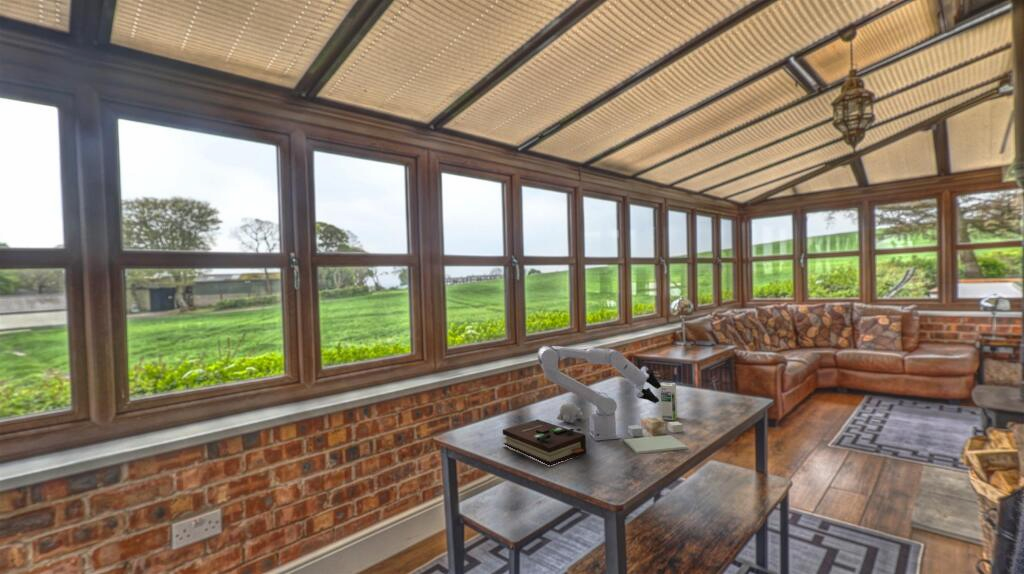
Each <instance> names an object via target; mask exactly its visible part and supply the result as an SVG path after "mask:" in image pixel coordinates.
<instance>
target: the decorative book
mask: <svg viewBox="0 0 1024 574" xmlns="http://www.w3.org/2000/svg"><path fill="white" fill-rule="evenodd" d="M579 431H582V429H580V428H577V429H574V428H570V429H569V428H565V427H563V426H559V425H555V424H553V423H549V422H546V421H544V420H541V419H535V420H531V421H527V422H524V423H522V424H517V425H514V426H510V427H507V428H504V429H502V435H503V436H505V437H502V439H503V440H506V442H503V443H502V444H505V445H507V446H509V447H511V448H513V449H515V450H518V451H520V452H522V453H524V454H526V455H528V456H531V457H533V458H535V459H537V460H539V461H541V462H543V463H545V464H547V465H550V466H551V465H553V464H556V463H558V462H561V461H565V460H567V459H570V458H573V457H575V458H577V457H576V456H578V457H580V456H583V455H585V454H587V440H586V434H584V433H580V432H579ZM582 454H583V455H582ZM579 455H580V456H579ZM573 459H574V458H573ZM570 460H571V459H570ZM567 461H568V460H567ZM565 462H566V461H565Z"/></svg>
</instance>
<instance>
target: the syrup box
mask: <svg viewBox="0 0 1024 574" xmlns="http://www.w3.org/2000/svg"><path fill="white" fill-rule="evenodd" d="M660 384H661V387H660V388H659V397H660V399H659V401H660V415H661V416H660V419H661V420H666V421H673V422H676V419H677V417H678V409H677V385H676V382H661V383H660Z"/></svg>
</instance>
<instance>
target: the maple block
mask: <svg viewBox="0 0 1024 574" xmlns="http://www.w3.org/2000/svg"><path fill="white" fill-rule="evenodd" d="M645 419H646V429H645V430H646V432H647V433H648V434H650V435H651V436H663V435H666V433H665V429H666V428H665V421H664V419H661V417H648V418H645Z"/></svg>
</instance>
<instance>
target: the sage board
mask: <svg viewBox="0 0 1024 574" xmlns="http://www.w3.org/2000/svg"><path fill="white" fill-rule="evenodd" d="M622 441H623V443H624V444H625V445H626V446H628V447H629V448H630V449H631V450H632V451H633V452H634V453H635V454H637V455H638V454H649V453H650V454H651V453H658V452H659V453H660V452H668V451H670V452H671V451H678V450H679V451H680V450H687V449H688V446H687V445H685V444H684V443H683V442H681V441H680V440H678V439H677V438H676V437H674V436H672V434H668V435H667V434H664V435H653V436H646V437H637V438H636V437H635V438H634V437H633V438H627V439H626V438H624V439H623V440H622Z"/></svg>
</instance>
